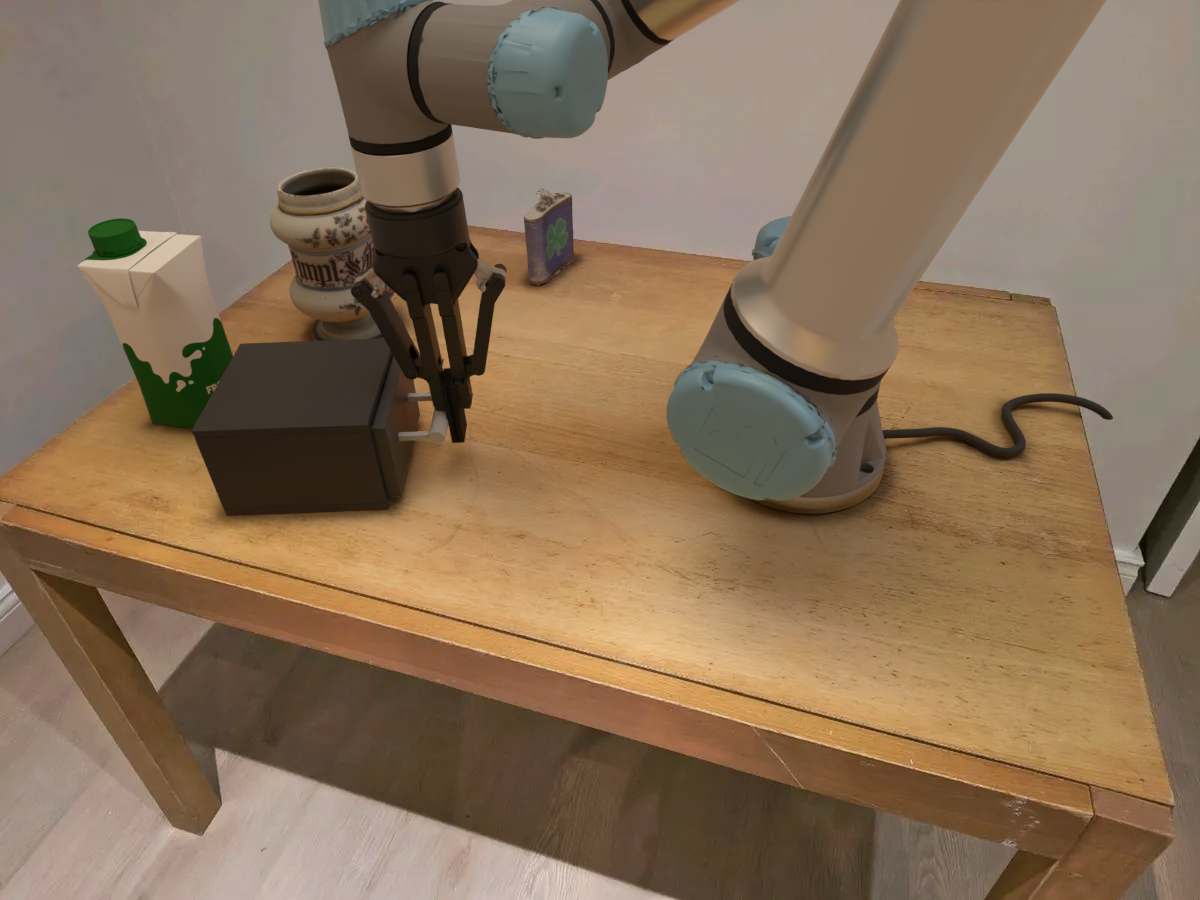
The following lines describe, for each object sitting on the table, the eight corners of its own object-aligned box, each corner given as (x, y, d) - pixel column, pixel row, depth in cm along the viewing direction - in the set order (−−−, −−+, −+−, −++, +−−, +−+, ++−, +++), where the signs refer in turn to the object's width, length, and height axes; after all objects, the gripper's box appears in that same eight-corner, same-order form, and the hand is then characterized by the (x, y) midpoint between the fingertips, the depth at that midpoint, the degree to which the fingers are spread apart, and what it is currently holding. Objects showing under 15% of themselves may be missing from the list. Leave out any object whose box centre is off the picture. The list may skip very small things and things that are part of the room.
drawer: (462, 412, 87) (452, 346, 83) (448, 495, 78) (436, 426, 73) (286, 419, 87) (265, 353, 83) (250, 502, 78) (224, 434, 73)
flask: (541, 287, 109) (534, 206, 102) (521, 282, 110) (514, 201, 104) (579, 257, 115) (575, 178, 108) (560, 253, 116) (555, 175, 110)
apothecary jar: (341, 296, 109) (306, 154, 97) (424, 312, 105) (398, 166, 94) (280, 346, 100) (234, 195, 89) (369, 364, 96) (333, 210, 85)
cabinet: (410, 418, 88) (394, 337, 82) (388, 509, 78) (367, 424, 72) (267, 423, 88) (240, 343, 82) (225, 515, 78) (191, 431, 72)
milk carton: (187, 380, 95) (118, 206, 82) (262, 388, 93) (204, 211, 81) (138, 428, 88) (56, 247, 76) (219, 438, 87) (148, 254, 74)
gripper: (498, 169, 69) (528, 406, 84) (340, 178, 70) (398, 413, 85) (491, 208, 64) (525, 455, 79) (319, 218, 64) (385, 463, 79)
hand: (459, 433), depth 82 cm, fingers closed
